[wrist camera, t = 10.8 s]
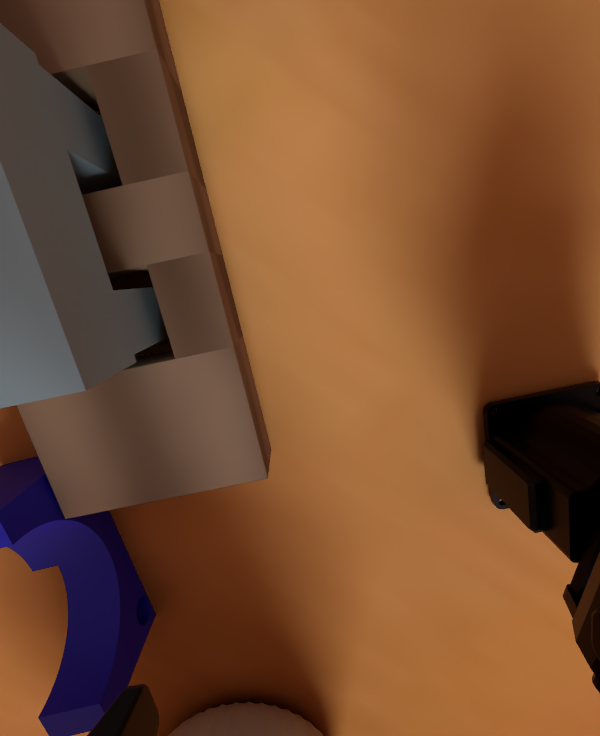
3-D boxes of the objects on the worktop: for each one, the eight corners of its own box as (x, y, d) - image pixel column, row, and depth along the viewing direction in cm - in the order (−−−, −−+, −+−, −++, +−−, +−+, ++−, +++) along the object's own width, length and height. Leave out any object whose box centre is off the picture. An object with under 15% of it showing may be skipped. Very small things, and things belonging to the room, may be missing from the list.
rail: (134, -98, 14) (93, -195, 11) (271, 449, 20) (267, 478, 17) (-109, -38, 14) (-209, -118, 12) (97, 484, 20) (65, 518, 17)
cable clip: (4, 463, 20) (-111, 540, 14) (81, 444, 20) (-5, 513, 14) (89, 627, 23) (22, 746, 17) (156, 612, 23) (111, 726, 17)
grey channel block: (112, 120, 16) (-76, -44, 8) (177, 339, 18) (85, 390, 10) (38, 137, 16) (-225, -8, 8) (112, 352, 19) (-30, 414, 10)
